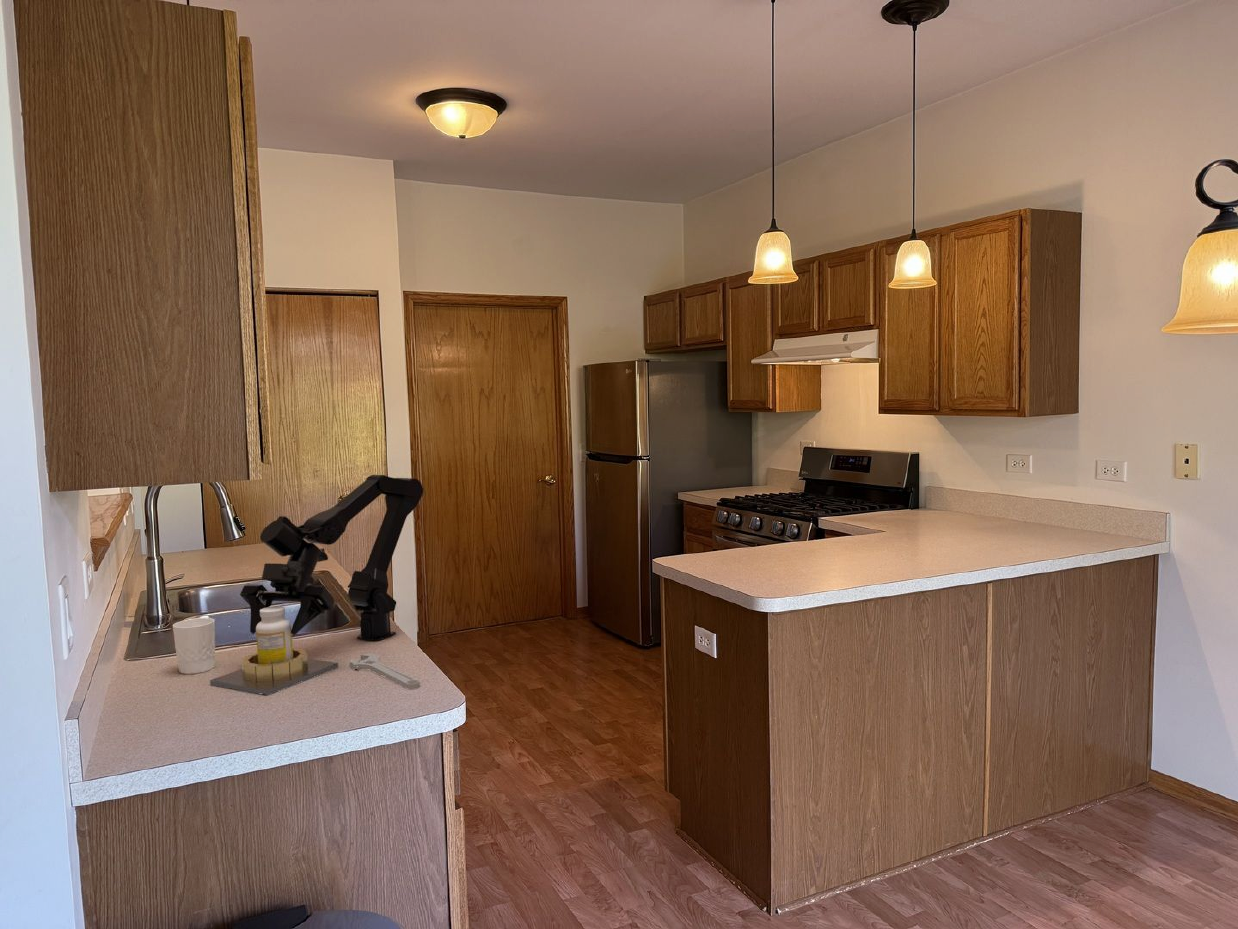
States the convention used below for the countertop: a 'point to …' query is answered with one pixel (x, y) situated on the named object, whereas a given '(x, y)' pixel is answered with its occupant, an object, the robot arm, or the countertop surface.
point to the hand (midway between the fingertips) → (272, 633)
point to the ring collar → (273, 673)
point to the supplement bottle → (274, 636)
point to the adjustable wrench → (384, 670)
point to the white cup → (195, 645)
